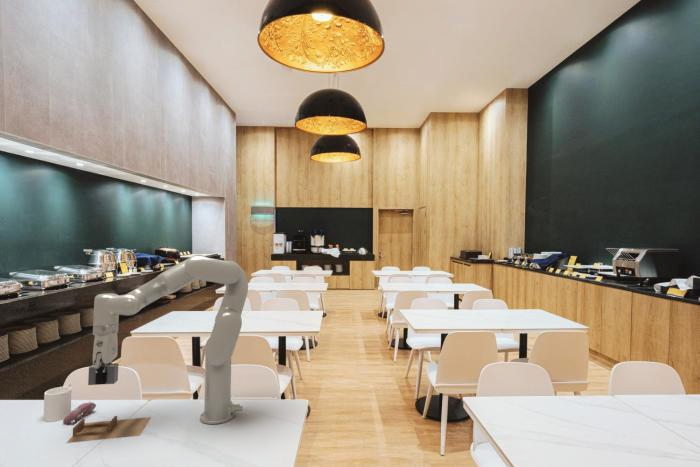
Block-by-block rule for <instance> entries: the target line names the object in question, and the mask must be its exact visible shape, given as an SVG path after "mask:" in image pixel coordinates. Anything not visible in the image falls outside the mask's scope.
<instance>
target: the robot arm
mask: <svg viewBox="0 0 700 467" xmlns="http://www.w3.org/2000/svg"><path fill="white" fill-rule="evenodd" d="M197 280H200V281H204V282H212V283H216V284H222V285H225V290H224V293H223V296H222V297H223V298H222V300H221V303H220V305H219V308H218V311H217V313H216V315H215V318H214V324H213V327H212V330H211V333H210V336H209V337H208V338H207V340H206V343H205V346H204V347H205V348H204V358H205V360H204V361H205V363H204V410H203V412H201V414H200V415H199V420H200V422H201V423H203V424H205V425H217V424H222V423H226V422H228V421H230V420H232V419H233V418H234V417H235V414H236V412H243V410H244V409H243V408H244V406H243V405H241V404H240V403H238V404H234V403H233V401H232V400H231V398H232V397H231V396H232V391H231V390H232V356H233V353H234V351H235V348H236V345H237V343H238V338H239V335H240V333H241V329H242V326H243V324H242V323H243V322H242V314H243V313H242V312H243V309H244V307H245V304H246V299H247V296H248V292H249V281H248V277H247V274H246V272H245V270H244V269H243V268H242V267H241V266H240V264H238V262H236V261H234V260H222V259H217V258H211V257H208V256H205V255H202V254H194V255H192V256H190V257H188V258H187V259H185V260H183V261H182V262H180V263H178V264H176V265H174V266H172V267H170V268H168V269H167V270H165V271H163V272H161V273H160V274H158V275H157V276H156V277H155V278H153V279H151V280H149V281H148V282H146V283H144V284H143V285H141V286H138V287H137V288H135V289H133V290H132V291H130V292H128V293H126V294H120V295H119V294H117V293H112V292H111V293H109V292H108V293H99V294H97V295H96V296H95V297H94V302H93V303H94V304H93V322H92V323H93V325H92V326H93V327H92V335H93V336H94V340H93V348H92V365H93V364H95V367H94V368H95V369H96V382H95V384H101V385H107V384H106V381H107V372H106V364H113V361H114V360H115V359H116V358H117V357H118V352H119V351H118V350H119V349H118V347H119V346H118V342H119V341H118V340H119V339H118V333H119V324H120V323H119V320H120V319H119V318H120V316H133V315H135V314H137V313H138V312H140V311H141V310H142V309H143V308H145V307H146V306H148V305H150V304H152V303H153V302H155V301H158V300H159V299H160V298H163V297H165V296H168V295H171V294H173V293H176V292H178V291H180V290H182V289H183V288H186V286H188V285H189V284H191V283H193V282H195V281H197ZM101 365H103V367H102V366H101Z"/></svg>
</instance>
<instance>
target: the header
mask: <svg viewBox="0 0 700 467" xmlns="http://www.w3.org/2000/svg"><path fill="white" fill-rule="evenodd" d="M151 419H152V416H148V417H137V418H135V417H134V418H125V419H118V415H115V416H114V417H113V418H112V419H111V420H104V421H95V422H85V420H86V419H85V418H81V419H80V420H79V421H78V423H76V424H75V426H73V428H72V436H71V437H70V438H69V439H68V440H67V442H66V443H65V444H70V443H80V442H90V441H98V440H110V439H118V438H127V437H128V438H129V437H139V436H141V434H142V433H143V431H144V430H145V429H146V427H147V425H148V423H149V422H150V420H151Z"/></svg>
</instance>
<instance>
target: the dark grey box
mask: <svg viewBox="0 0 700 467" xmlns="http://www.w3.org/2000/svg"><path fill="white" fill-rule="evenodd" d="M101 366H102V367H103V365H101ZM94 367H95V364H93V363H92V365H91V366H89V367H88V377H87V378H88V380H87V381H88V382H87V386H96V385H102V384H95V382H96V369H95V368H94ZM106 372H107V381H106V384H105V385H114V384H116V382H118V381H119V363H117V362H115V363H112V364H106Z"/></svg>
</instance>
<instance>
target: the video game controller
mask: <svg viewBox="0 0 700 467" xmlns="http://www.w3.org/2000/svg"><path fill="white" fill-rule="evenodd" d="M96 406H97V404H96V403H94V402H91V401H88V402H85V403H84V402H83V403H81V404H79V405H78V406H77V407H76V408H74V409H73V410H71V413H70V414H69V415H68V416H66V417H65V418H64V419H63V420H62V423H63V424H64V425H68V424H70V423H72V422H73V421H75V422H76V423H77V422H80V421H81V420H82V418H83V417H85V416H88V415H89V414H91V413H92V412H93V411H94V410H95V408H96Z"/></svg>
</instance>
